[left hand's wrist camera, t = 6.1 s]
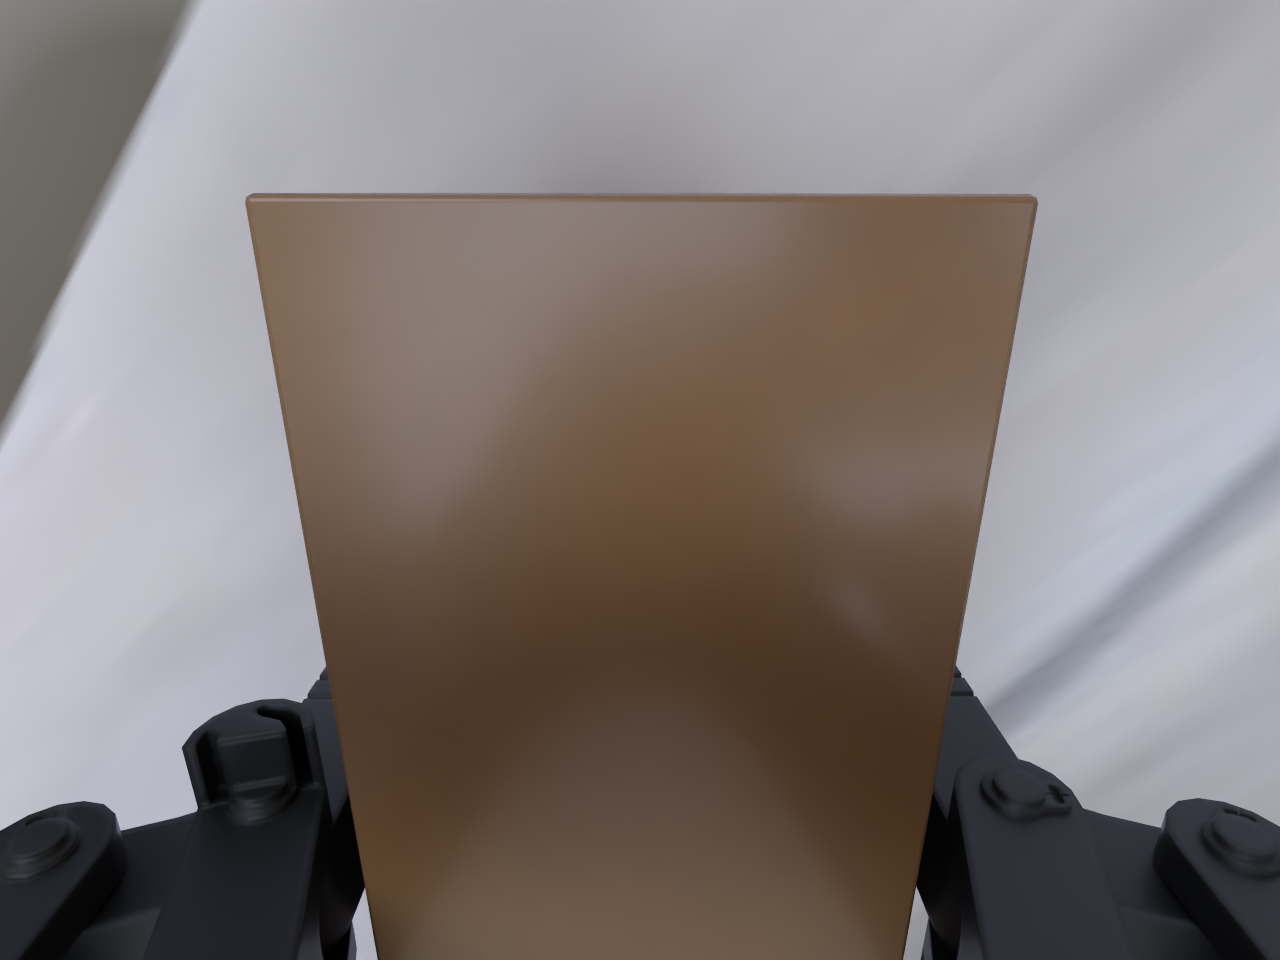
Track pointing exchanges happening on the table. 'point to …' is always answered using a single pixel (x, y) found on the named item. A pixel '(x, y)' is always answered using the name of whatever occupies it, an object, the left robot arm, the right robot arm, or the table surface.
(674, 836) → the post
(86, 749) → the table surface
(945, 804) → the left robot arm
